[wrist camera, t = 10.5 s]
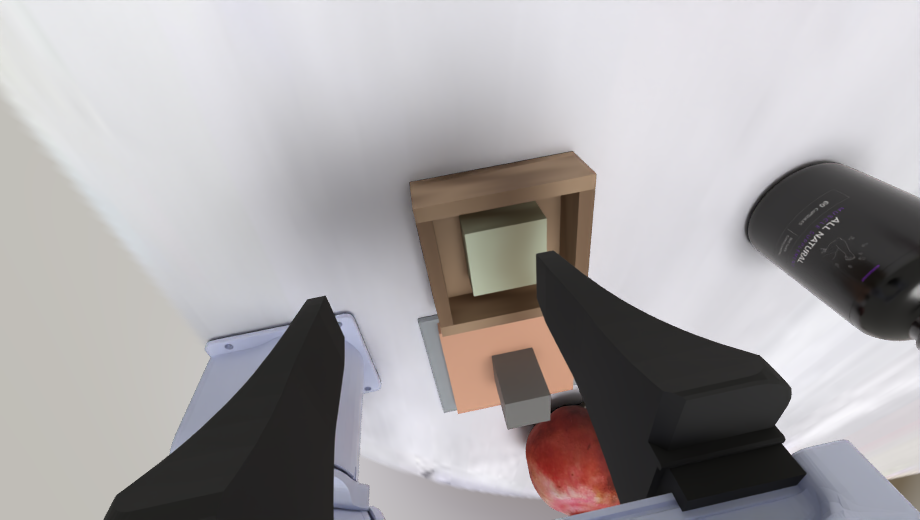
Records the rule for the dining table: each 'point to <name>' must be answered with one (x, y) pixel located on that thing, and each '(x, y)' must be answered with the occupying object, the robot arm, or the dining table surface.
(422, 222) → the box
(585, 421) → the fruit
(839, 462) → the robot arm
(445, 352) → the lid
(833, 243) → the supplement bottle
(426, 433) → the dining table surface
